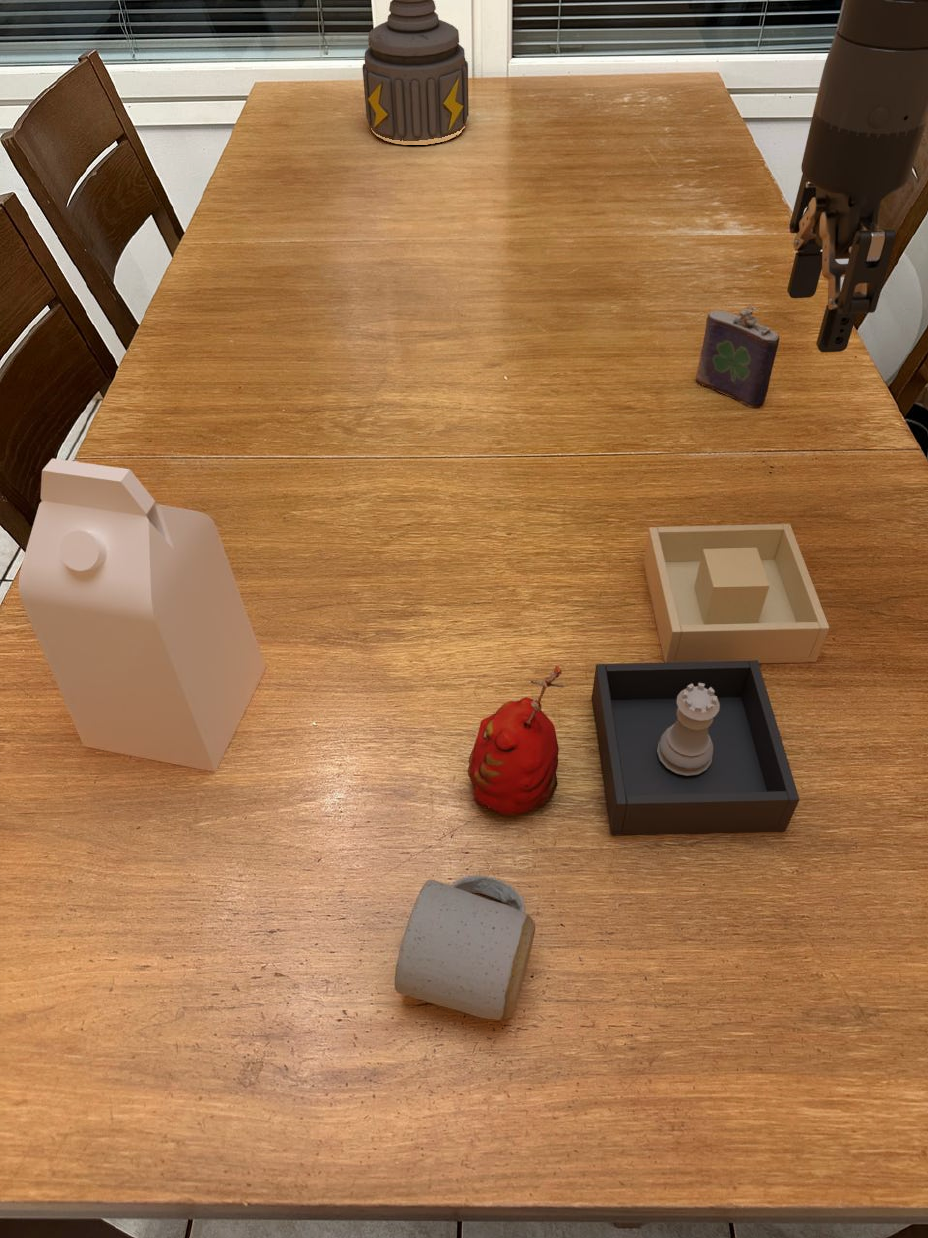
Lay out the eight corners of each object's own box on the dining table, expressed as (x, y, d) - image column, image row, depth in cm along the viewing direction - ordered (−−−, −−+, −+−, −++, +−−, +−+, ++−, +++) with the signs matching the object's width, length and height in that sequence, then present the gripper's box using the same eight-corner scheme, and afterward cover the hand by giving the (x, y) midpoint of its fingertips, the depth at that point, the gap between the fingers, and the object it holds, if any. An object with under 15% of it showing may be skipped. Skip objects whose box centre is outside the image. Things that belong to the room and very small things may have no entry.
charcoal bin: (746, 694, 83) (757, 659, 79) (785, 831, 73) (800, 799, 70) (591, 697, 83) (595, 663, 79) (610, 835, 73) (616, 804, 70)
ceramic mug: (511, 1044, 63) (515, 997, 57) (395, 1010, 64) (387, 962, 59) (546, 901, 70) (552, 847, 64) (440, 874, 72) (437, 819, 66)
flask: (691, 381, 116) (706, 300, 108) (705, 371, 117) (721, 290, 109) (756, 411, 111) (777, 328, 103) (770, 401, 113) (792, 318, 105)
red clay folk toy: (491, 736, 80) (492, 615, 69) (570, 762, 78) (584, 642, 67) (456, 809, 75) (451, 691, 64) (539, 838, 73) (549, 722, 62)
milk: (266, 667, 86) (203, 430, 66) (215, 772, 78) (128, 538, 59) (144, 646, 88) (49, 410, 68) (83, 746, 80) (-43, 512, 61)
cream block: (746, 585, 91) (757, 547, 87) (757, 623, 87) (769, 585, 84) (694, 586, 91) (702, 548, 87) (703, 625, 87) (713, 587, 84)
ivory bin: (779, 558, 94) (790, 523, 91) (816, 662, 85) (829, 628, 82) (642, 561, 94) (648, 526, 91) (665, 666, 85) (672, 631, 82)
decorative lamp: (491, 126, 173) (492, -74, 151) (417, 157, 163) (407, -51, 141) (418, 101, 182) (409, -91, 160) (345, 130, 172) (324, -70, 150)
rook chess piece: (666, 726, 80) (680, 665, 74) (718, 745, 78) (737, 684, 72) (649, 766, 77) (662, 706, 71) (702, 787, 76) (720, 727, 70)
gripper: (967, 145, 60) (890, 368, 72) (890, 70, 70) (834, 277, 82) (849, 150, 60) (792, 372, 72) (789, 74, 70) (747, 281, 82)
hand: (814, 321), depth 77 cm, fingers open, 8 cm apart
